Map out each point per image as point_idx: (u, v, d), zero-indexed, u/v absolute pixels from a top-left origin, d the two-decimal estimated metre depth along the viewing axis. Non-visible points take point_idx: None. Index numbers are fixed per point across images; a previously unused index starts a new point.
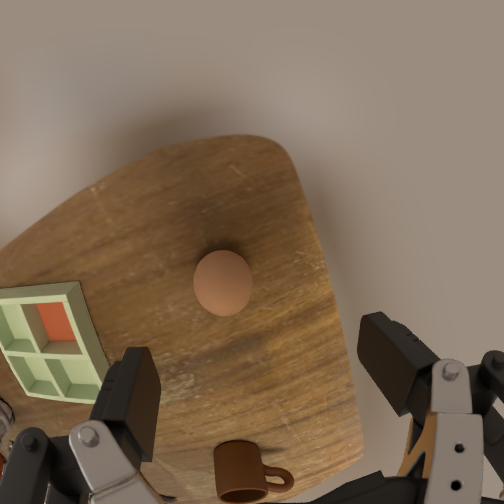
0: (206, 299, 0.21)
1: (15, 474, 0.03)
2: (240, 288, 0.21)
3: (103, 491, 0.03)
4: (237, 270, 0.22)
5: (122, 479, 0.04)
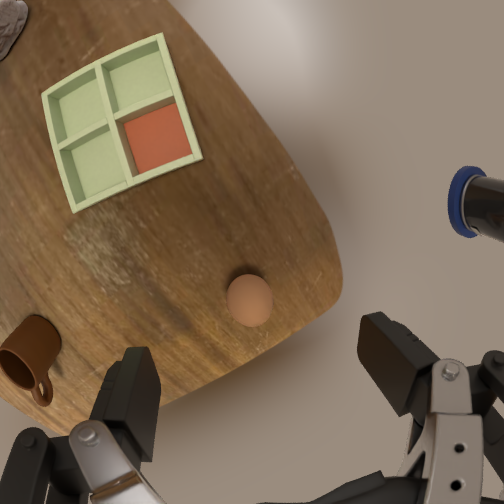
0: (251, 302, 0.27)
1: (15, 474, 0.03)
2: (264, 321, 0.28)
3: (103, 491, 0.03)
4: None
5: (122, 479, 0.04)
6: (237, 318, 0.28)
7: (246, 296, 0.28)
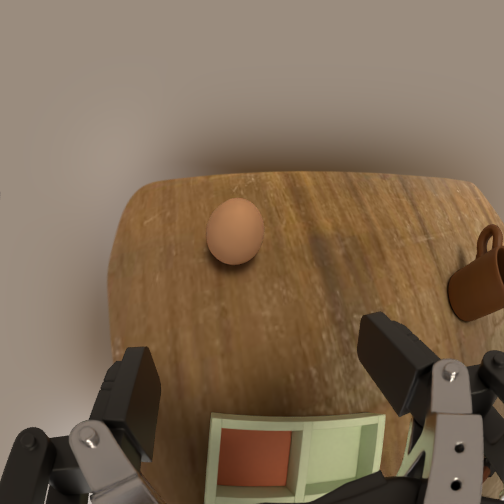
0: (235, 227, 0.22)
1: (15, 475, 0.03)
2: (232, 199, 0.23)
3: (103, 491, 0.03)
4: (219, 205, 0.24)
5: (122, 479, 0.04)
6: (260, 218, 0.23)
7: (237, 237, 0.22)
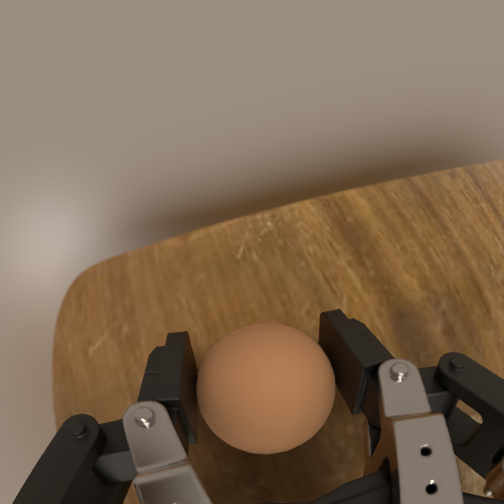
0: (273, 437, 0.06)
1: (55, 460, 0.04)
2: (245, 348, 0.08)
3: (148, 473, 0.04)
4: (213, 355, 0.08)
5: (171, 463, 0.04)
6: (330, 378, 0.08)
7: (280, 446, 0.07)
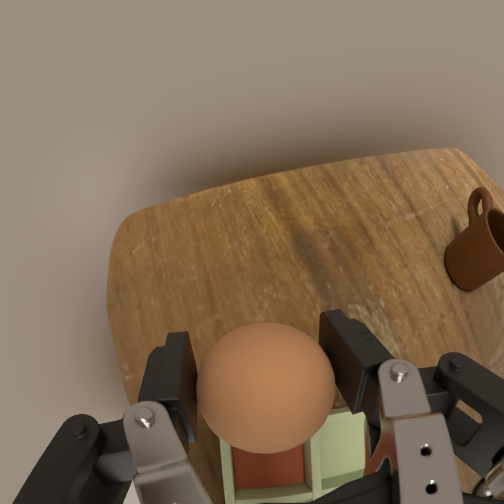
0: (273, 436, 0.06)
1: (55, 460, 0.04)
2: (245, 347, 0.08)
3: (148, 473, 0.04)
4: (213, 354, 0.08)
5: (171, 463, 0.04)
6: (330, 377, 0.08)
7: (280, 446, 0.07)
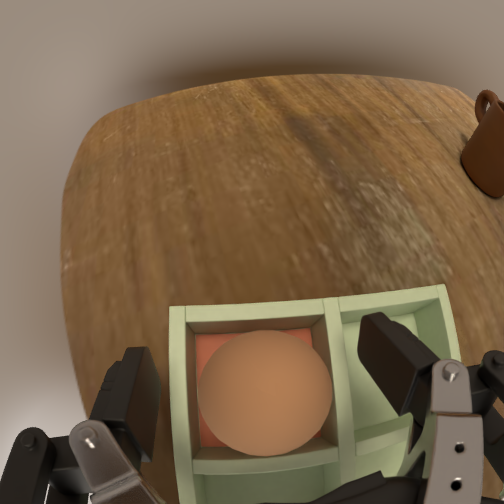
0: (271, 440, 0.07)
1: (15, 474, 0.03)
2: (245, 356, 0.08)
3: (103, 491, 0.03)
4: (214, 362, 0.09)
5: (122, 479, 0.04)
6: (326, 384, 0.08)
7: (278, 449, 0.07)
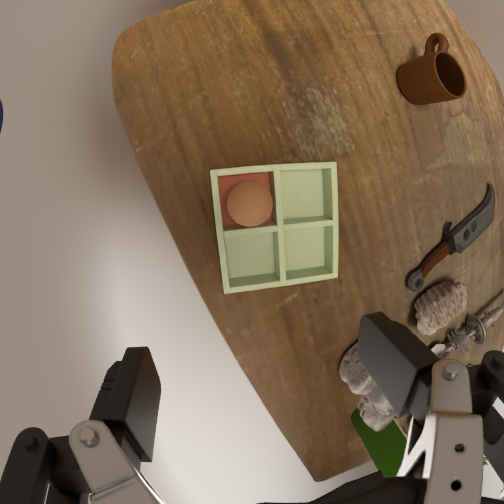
0: (253, 221, 0.29)
1: (15, 475, 0.03)
2: (245, 196, 0.28)
3: (103, 491, 0.03)
4: (234, 196, 0.29)
5: (122, 479, 0.04)
6: (269, 204, 0.29)
7: (255, 224, 0.30)
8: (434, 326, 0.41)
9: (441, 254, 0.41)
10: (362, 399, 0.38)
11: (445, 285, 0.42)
